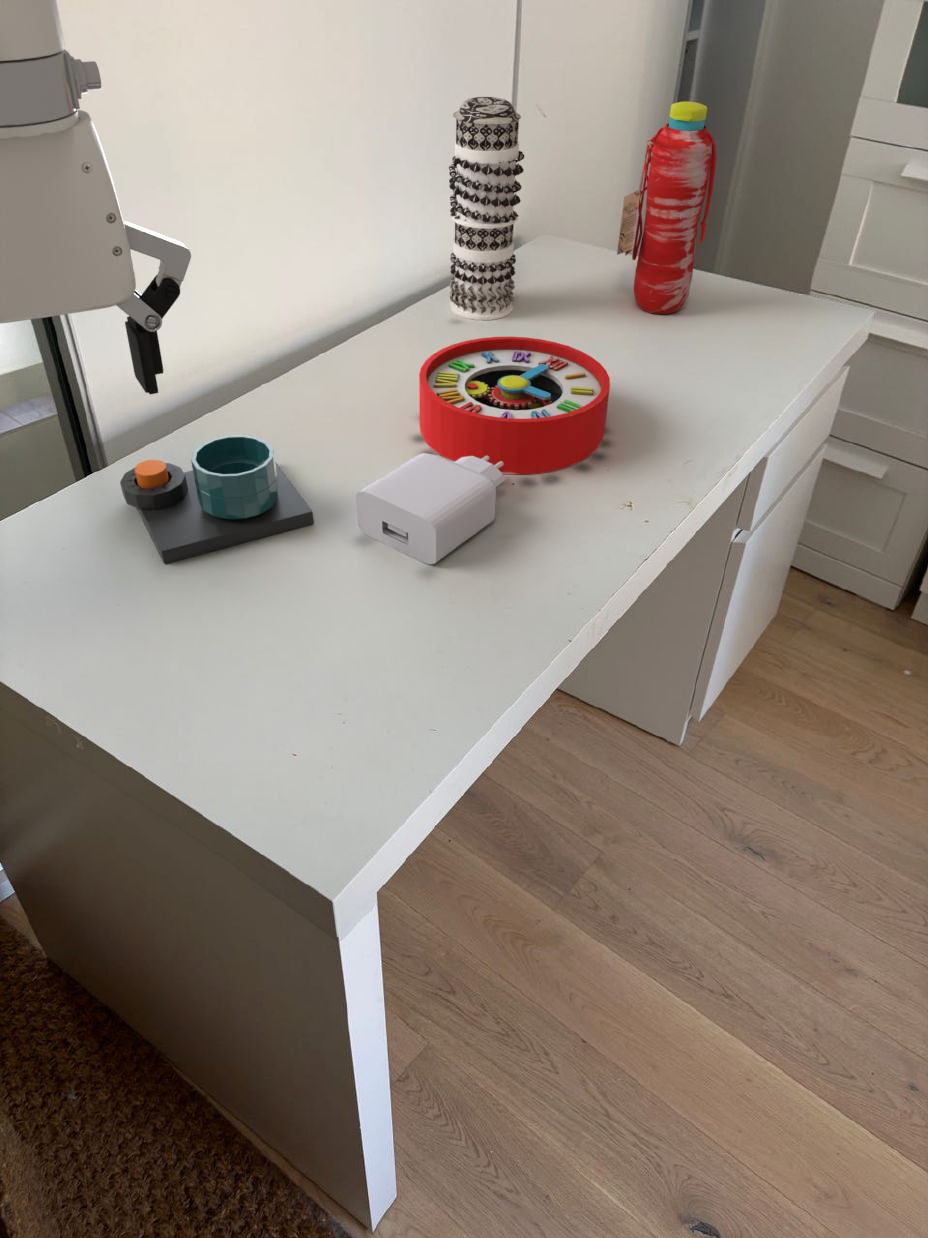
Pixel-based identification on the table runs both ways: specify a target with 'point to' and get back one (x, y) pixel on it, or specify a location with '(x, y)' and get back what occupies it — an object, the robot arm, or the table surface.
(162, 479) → the button
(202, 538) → the dark grey flat slab
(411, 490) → the charger
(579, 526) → the table surface
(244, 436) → the bowl
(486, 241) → the decorative candle
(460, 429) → the toy clock
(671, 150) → the water bottle
